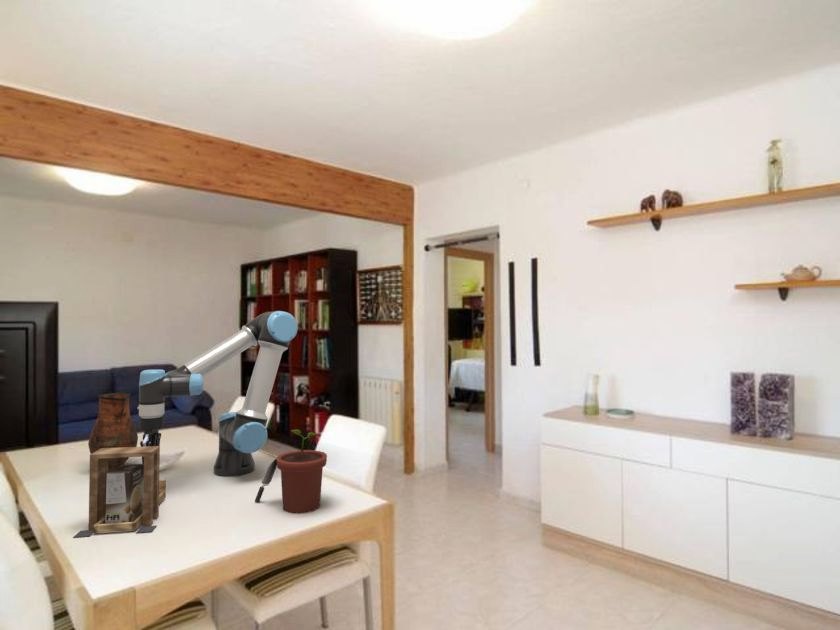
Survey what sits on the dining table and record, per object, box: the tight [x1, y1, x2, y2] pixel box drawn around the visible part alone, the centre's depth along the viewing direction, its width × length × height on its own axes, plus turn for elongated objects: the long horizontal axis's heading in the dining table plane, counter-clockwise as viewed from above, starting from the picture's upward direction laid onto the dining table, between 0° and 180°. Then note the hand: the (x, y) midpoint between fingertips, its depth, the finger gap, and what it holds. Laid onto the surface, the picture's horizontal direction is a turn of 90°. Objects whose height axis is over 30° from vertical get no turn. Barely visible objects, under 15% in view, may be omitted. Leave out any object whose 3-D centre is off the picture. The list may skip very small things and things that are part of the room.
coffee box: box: [105, 463, 144, 524], centre depth 141 cm, size 9×6×16 cm
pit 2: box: [135, 525, 158, 534], centre depth 137 cm, size 4×4×1 cm
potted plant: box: [254, 429, 328, 514], centre depth 157 cm, size 18×22×25 cm
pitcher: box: [88, 392, 139, 472], centre depth 193 cm, size 17×21×30 cm
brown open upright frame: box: [88, 445, 161, 530], centre depth 141 cm, size 16×7×21 cm, turn 101°
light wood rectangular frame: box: [93, 478, 167, 534], centre depth 147 cm, size 11×26×6 cm, turn 11°
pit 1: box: [72, 529, 94, 539], centre depth 134 cm, size 4×4×1 cm
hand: (150, 487), depth 162 cm, fingers closed
